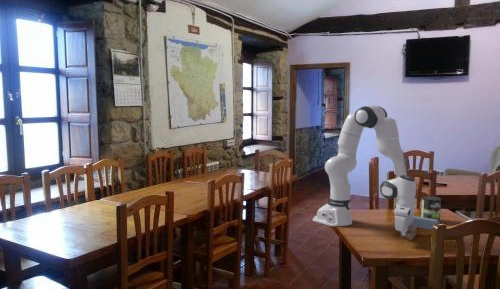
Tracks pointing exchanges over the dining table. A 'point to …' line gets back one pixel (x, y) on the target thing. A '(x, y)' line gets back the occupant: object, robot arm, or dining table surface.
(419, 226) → the board
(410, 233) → the walnut block
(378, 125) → the robot arm
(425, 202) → the coffee can
